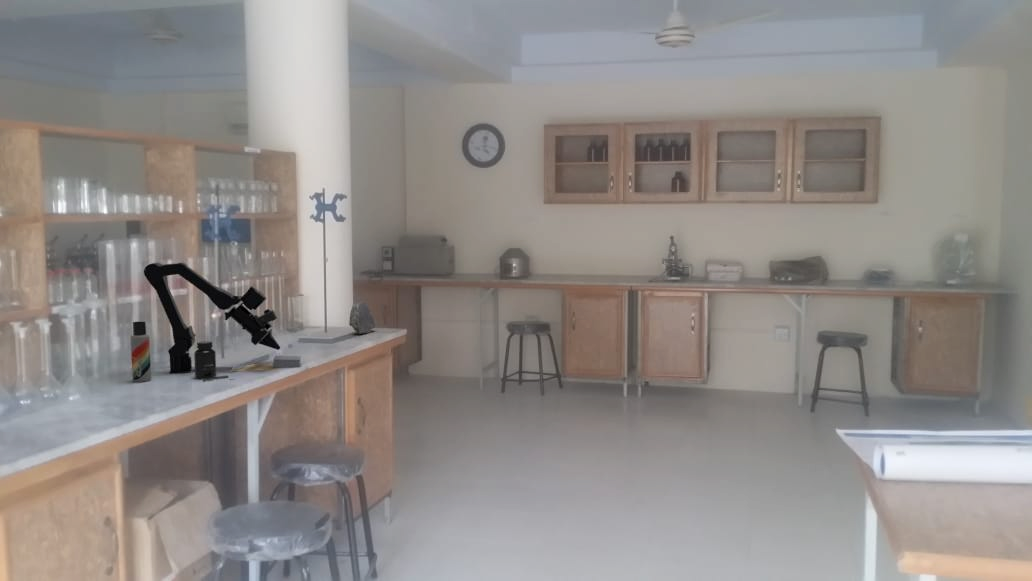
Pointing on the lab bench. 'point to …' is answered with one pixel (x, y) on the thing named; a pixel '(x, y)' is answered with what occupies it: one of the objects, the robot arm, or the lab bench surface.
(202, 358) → the supplement bottle
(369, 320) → the decorative rock
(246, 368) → the cork mat
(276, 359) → the thick grey slab block
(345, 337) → the lab bench surface
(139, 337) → the lotion bottle
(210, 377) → the metal turner
